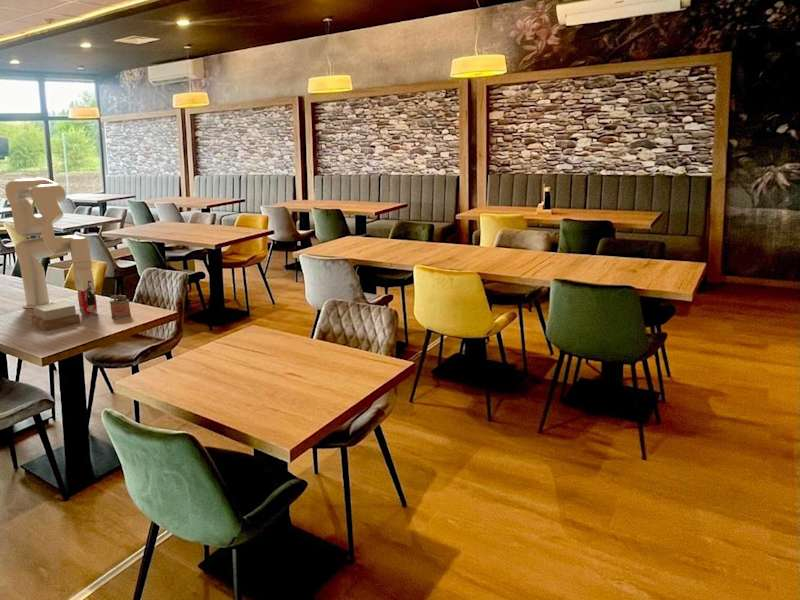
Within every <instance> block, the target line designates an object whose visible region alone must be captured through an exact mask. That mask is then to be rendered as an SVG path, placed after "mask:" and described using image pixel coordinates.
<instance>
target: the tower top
mask: <svg viewBox="0 0 800 600" xmlns="http://www.w3.org/2000/svg"><path fill="white" fill-rule="evenodd" d="M32 309H33V312H34V315H35V316H36V317H38V318H41V319H43V320H45V321H48V320H52V319H57V318H62V317H67V316H72V315H76V305H74V304H71V303H69V302H66V301H58V302H53V303H51V304H46V305H41V306H36V307H33V308H32Z"/></svg>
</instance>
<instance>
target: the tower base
mask: <svg viewBox="0 0 800 600" xmlns="http://www.w3.org/2000/svg"><path fill="white" fill-rule="evenodd" d="M31 321H32V322H31V323H32V326H34V327H37V328H38V329H41V330H43V331H45V332H49V331H53V330H57V329H61V328H66V327H71V326H75V324H76V325H80V324H81V316H80V314H79V313H76V315H72V316H67V317H62V318H57V319H52V320H48V321H45V320H43V319H41V318H38V317H36V316H35V314H34V315H32V316H31Z"/></svg>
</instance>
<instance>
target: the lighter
mask: <svg viewBox="0 0 800 600" xmlns="http://www.w3.org/2000/svg"><path fill="white" fill-rule="evenodd" d="M111 299H112V300H111ZM109 304H110V312H111V318H112V319H126V318H130V317H132V314H131V308H130V299H127V296H126V295H122V294H118V295H117V294H116V295H111V296H110V301H109Z"/></svg>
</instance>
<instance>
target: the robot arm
mask: <svg viewBox="0 0 800 600" xmlns="http://www.w3.org/2000/svg"><path fill="white" fill-rule="evenodd" d="M4 191H5V196H6V197H5V198H6V199H7V201H8V203H9V206H10V209H11V214H12V219H13V220H12V221H13V223H14V224H13V226H14V229H15V233H16V235H17V236H19V237H22V238H28V239H23V240H21V241H19V242H17V243H16V244H15V246H14V252H15V255H16V257H17V258H16V259H17V261H18V263H19V268H20V273H21V278H22V284H23V291H24V296H25V302H24V303H23V304H22V307H23V308H24V309H34V308H33V307H36V306H41V305H46V304H51V303H54V300H52V299H50V298H49V292H48V286H47V279H46V278H47V277H46V272H45V267H44V265H43V264H42V263H41V262H40V261H39V259H43V258H44V259H45V258H49V257H53V256H55V255H63V254H68V253H69V254H70V255H71V263H72V269H73V281H74V288H75V289H76V290H77V292H78V291H79V290H80V291H83V292H85V291H86V294H87V296H88V297H87V303H88V306H91V305H95V296H96V287H95V281H94V275H93V272H92V271H93V270H92V268H93V265H92V257H91V250H90V241H89V239H88V237H86V236H79V235H77V234H70V235H63V236H62V235H61V236H57V237H56V236H55V231H54V226H53V225H54V224H55V223H57V222H58V221H60V220H61V219H62V218H63V216H64V213H63V210H62V209H61V206H60V205H59V203H63V202H65V200H66V198H67V193H66V191H65V189H64V188H63V186H62V185H61V184H60V183H57V182H54V181H52V180H50V179H48V178H44V177H35V178H34V177H33V178H18V179H13V180H10V181H8V182H7V183H6V185H5V190H4ZM27 198H31V199H32V202H33V203H34V206H35V207H36V209H37V211H38V212H39V214H34V208H33V205H32V204H31V202H30V200H28V199H27ZM33 236H34V237H35V236H37V238H30V239H29V237H33ZM38 236H39V237H38ZM87 289H90V290H87ZM90 291H91V292H90ZM94 293H95V294H94Z"/></svg>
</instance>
